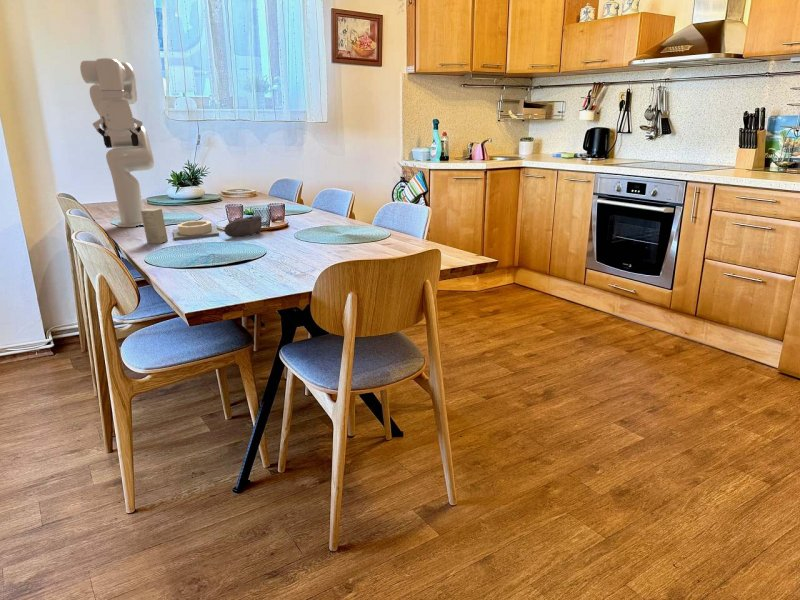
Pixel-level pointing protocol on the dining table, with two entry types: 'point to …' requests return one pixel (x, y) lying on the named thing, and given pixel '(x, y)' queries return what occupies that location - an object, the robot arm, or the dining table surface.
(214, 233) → the collar board
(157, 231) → the skincare box
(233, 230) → the perforated stone tool
